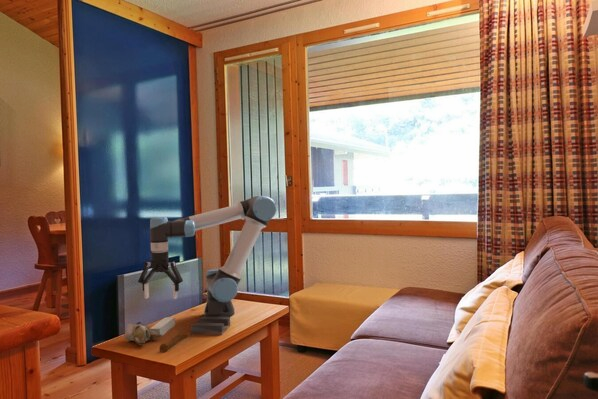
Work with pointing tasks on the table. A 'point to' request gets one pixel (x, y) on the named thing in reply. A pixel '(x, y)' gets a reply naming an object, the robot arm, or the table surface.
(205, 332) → the dark grey rimmed tray
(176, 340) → the primitive tool
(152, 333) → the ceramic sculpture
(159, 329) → the clay strip
